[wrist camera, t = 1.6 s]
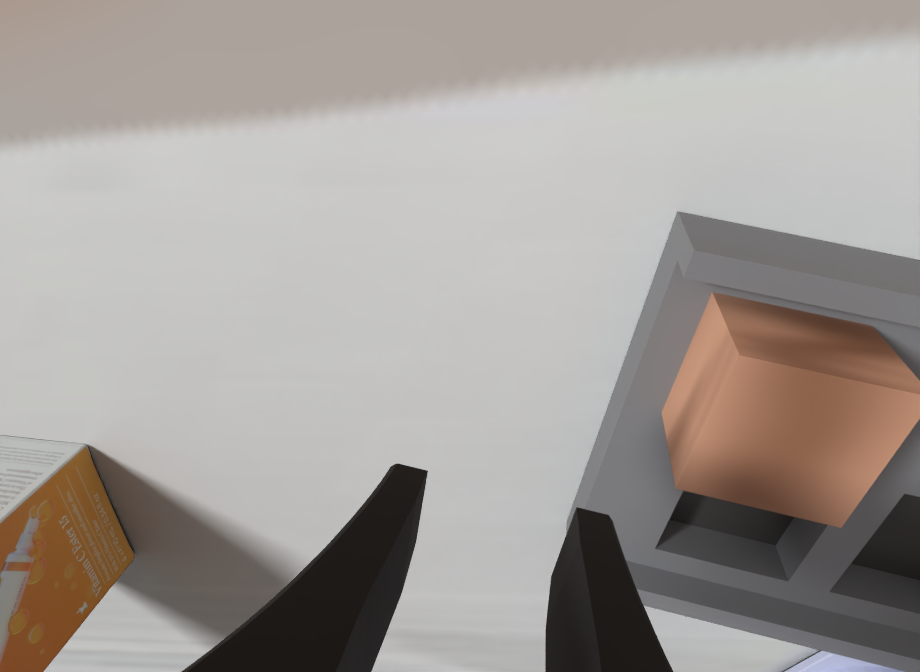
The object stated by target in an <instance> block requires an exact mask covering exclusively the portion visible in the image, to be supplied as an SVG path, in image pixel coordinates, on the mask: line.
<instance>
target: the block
mask: <svg viewBox="0 0 920 672" xmlns="http://www.w3.org/2000/svg"><path fill="white" fill-rule="evenodd" d="M662 418H663V423H664V428H665V434H666V439H667V445H668V450H669V455H670V461H671V466H672V471H673V477H674V482H675V488H676V489H679V490H684V491H688V492H692V493H696V494H700V495H705V496H709V497H713V498H717V499H721V500H726V501H730V502H734V503H738V504H742V505H747V506H751V507H755V508H759V509H763V510H768V511H772V512H776V513H780V514H784V515H789V516H793V517H797V518H801V519H805V520H810V521H814V522H818V523H822V524H827V525H831V526H835V527H839V528H842V526H843V525H844V523H845V522H846V521H847V519H848V518H849V516H850V515H851V514H852V512H853V511H854V509H855V508H856V507H857V505H858V504H859V502H860V501H861V500H862V498H863V497H864V496H865V494H866V493H867V491H868V490H869V489H870V487H871V486H872V484H873V483H874V482H875V480H876V479H877V477H878V476H879V475H880V473H881V472H882V470H883V469H884V468H885V466H886V465H887V464H888V462H889V461H890V459H891V458H892V457H893V455H894V454H895V452H896V451H897V450H898V448H899V447H900V445H901V444H902V443H903V441H904V440H905V438H906V437H907V436H908V434H909V433H910V431H911V430H912V429H913V427H914V426H915V425H916V423H917V422H918V420H919V419H920V380H919V379H918V378H917V377H916V376H915V375H914V373H913V372H912V371H911V370H910V369H909V368H908V367H907V365H906V364H905V363H904V362H903V361H902V360H901V358H900V357H899V356H898V355H897V354H896V353H895V352H894V350H893V349H892V348H891V347H890V346H889V345H888V343H887V342H886V341H885V340H884V339H883V338H882V337H881V335H880V334H879V333H878V332H877V331H876V330H875V328H874V327H873V326H871V325H866V324H862V323H857V322H852V321H847V320H843V319H838V318H833V317H828V316H824V315H819V314H814V313H810V312H805V311H800V310H795V309H791V308H786V307H781V306H776V305H772V304H767V303H762V302H757V301H753V300H748V299H743V298H739V297H734V296H729V295H724V294H720V293H715V292H712V294H711V296H710V298H709V301H708V303H707V305H706V308H705V310H704V313H703V315H702V317H701V320H700V322H699V325H698V327H697V329H696V332H695V334H694V336H693V339H692V341H691V344H690V346H689V348H688V351H687V353H686V355H685V358H684V360H683V363H682V365H681V367H680V370H679V372H678V375H677V377H676V379H675V382H674V384H673V386H672V389H671V391H670V394H669V396H668V398H667V401H666V403H665V406H664V408H663V410H662Z"/></svg>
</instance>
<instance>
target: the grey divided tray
mask: <svg viewBox="0 0 920 672" xmlns="http://www.w3.org/2000/svg"><path fill="white" fill-rule="evenodd" d="M712 292H715V293H720V294H724V295H729V296H734V297H739V298H743V299H748V300H753V301H757V302H762V303H767V304H772V305H776V306H781V307H786V308H791V309H795V310H800V311H805V312H810V313H814V314H819V315H824V316H828V317H833V318H838V319H843V320H847V321H852V322H857V323H862V324H866V325H871V326H873V327H874V328H875V330H876V331H877V332H878V333H879V334H880V335H881V337H882V338H883V339H884V340H885V341H886V342H887V343H888V345H889V346H890V347H891V348H892V349H893V350H894V352H895V353H896V354H897V355H898V356H899V357H900V358H901V360H902V361H903V362H904V363H905V364H906V365H907V367H908V368H909V369H910V370H911V371H912V372H913V373H914V375H915V376H916V377H917V378H918V379H919V380H920V260H916V259H911V258H906V257H901V256H896V255H891V254H886V253H881V252H876V251H871V250H866V249H861V248H856V247H851V246H846V245H841V244H836V243H831V242H826V241H822V240H817V239H812V238H807V237H802V236H797V235H792V234H787V233H782V232H777V231H772V230H767V229H762V228H757V227H752V226H747V225H742V224H737V223H732V222H727V221H722V220H717V219H712V218H708V217H703V216H698V215H693V214H688V213H683V212H677V214H676V217H675V220H674V223H673V226H672V228H671V231H670V234H669V237H668V240H667V242H666V245H665V248H664V251H663V254H662V257H661V259H660V262H659V265H658V268H657V271H656V273H655V276H654V279H653V282H652V285H651V287H650V290H649V293H648V296H647V299H646V301H645V304H644V307H643V310H642V313H641V315H640V318H639V321H638V324H637V327H636V329H635V332H634V335H633V338H632V341H631V343H630V346H629V349H628V352H627V355H626V357H625V360H624V363H623V366H622V369H621V371H620V374H619V377H618V380H617V383H616V386H615V388H614V391H613V394H612V397H611V400H610V402H609V405H608V408H607V411H606V414H605V416H604V419H603V422H602V425H601V428H600V430H599V433H598V436H597V439H596V442H595V444H594V447H593V450H592V453H591V456H590V458H589V461H588V464H587V467H586V470H585V472H584V475H583V478H582V481H581V484H580V486H579V489H578V492H577V495H576V498H575V500H574V503H573V506H572V509H571V512H570V515H569V517H568V520H567V532H568V529H569V526H570V524H571V521H572V518H573V515H574V513H575V510H576V507H578V508H582V509H586V510H590V511H595V512H599V513H603V514H607V515H609V516H610V518H611V519H612V521H613V524H614V527H615V530H616V533H617V536H618V539H619V542H620V545H621V548H622V551H623V554H624V557H625V560H626V562H627V565H628V568H629V570H630V573H631V576H632V578H633V581H634V584H635V586H636V589H637V591H638V594H639V596H640V599H641V601H642V603H643V605H644V606H648V607H652V608H656V609H660V610H664V611H668V612H672V613H676V614H680V615H684V616H687V617H691V618H695V619H699V620H703V621H707V622H711V623H715V624H719V625H723V626H727V627H731V628H735V629H739V630H743V631H747V632H750V633H754V634H758V635H762V636H766V637H770V638H774V639H778V640H782V641H786V642H790V643H794V644H798V645H802V646H806V647H809V648H813V649H817V650H821V651H825V652H829V653H833V654H837V655H841V656H845V657H849V658H853V659H857V660H861V661H865V662H869V663H872V664H876V665H880V666H884V667H888V668H892V669H896V670H900V671H904V672H920V419H919V420H918V422H917V423H916V425H915V426H914V427H913V429H912V430H911V431H910V433H909V434H908V436H907V437H906V438H905V440H904V441H903V443H902V444H901V445H900V447H899V448H898V450H897V451H896V452H895V454H894V455H893V457H892V458H891V459H890V461H889V462H888V464H887V465H886V466H885V468H884V469H883V470H882V472H881V473H880V475H879V476H878V477H877V479H876V480H875V482H874V483H873V484H872V486H871V487H870V489H869V490H868V491H867V493H866V494H865V496H864V497H863V498H862V500H861V501H860V502H859V504H858V505H857V507H856V508H855V509H854V511H853V512H852V514H851V515H850V516H849V518H848V519H847V521H846V522H845V523H844V525H843V526H842V528H839V527H835V526H831V525H827V524H822V523H818V522H814V521H810V520H805V519H801V518H797V517H793V516H789V515H784V514H780V513H776V512H772V511H768V510H763V509H759V508H755V507H751V506H747V505H742V504H738V503H734V502H730V501H726V500H721V499H717V498H713V497H709V496H705V495H700V494H696V493H692V492H688V491H684V490H679V489H676V488H675V482H674V477H673V471H672V466H671V461H670V455H669V450H668V445H667V439H666V434H665V428H664V423H663V418H662V410H663V408H664V406H665V403H666V401H667V398H668V396H669V394H670V391H671V389H672V386H673V384H674V382H675V379H676V377H677V375H678V372H679V370H680V367H681V365H682V363H683V360H684V358H685V355H686V353H687V351H688V348H689V346H690V344H691V341H692V339H693V336H694V334H695V332H696V329H697V327H698V325H699V322H700V320H701V317H702V315H703V313H704V310H705V308H706V305H707V303H708V301H709V298H710V296H711V294H712Z"/></svg>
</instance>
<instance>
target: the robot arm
mask: <svg viewBox="0 0 920 672" xmlns="http://www.w3.org/2000/svg"><path fill="white" fill-rule="evenodd" d="M427 472H428V471H426V470H422V469H418V468H414V467H410V466H406V465H401V464H395V465H393V466H391V467H390V469H389V470H388V472H387V473H386V475H385V476H384V478H383V479H382V481H381V482H380V483H379V485H378V486H377V488H376V489H375V490H374V492H373V493H372V494H371V495H370V497H369V498H368V499H367V500H366V502H365V503H364V504H363V505H362V507H361V508H360V509H359V510H358V511H357V513H356V514H355V515H354V516H353V517H352V518H351V520H350V521H349V522H348V523H347V524H346V525H345V526H344V527H343V529H342V530H341V531H340V532H339V533H338V534H337V535H336V536H335V537H334V539H333V540H332V541H331V542H330V543H329V544H328V545H327V546H326V547H325V548H324V549H323V550H322V551H321V552H320V553H319V554H318V555H317V556H316V557H315V558H314V559H313V560H312V561H311V562H310V563H309V564H308V565H307V566H306V567H305V568H304V569H303V570H302V571H301V572H300V573H299V574H298V575H297V576H296V577H295V578H294V579H293V580H292V581H291V582H290V583H289V584H288V585H287V586H286V587H285V588H284V589H283V590H282V591H280V592H279V593H278V594H277V595H276V596H275V597H274V598H273V599H272V600H270V601H269V602H268V603H267V604H266V605H265V606H264V607H262V608H261V609H260V610H259V611H258V612H257V613H256V614H254V615H253V616H252V617H251V618H250V619H249V620H247V621H246V622H245V623H244V624H243V625H241V626H240V627H239V628H238V629H236V630H235V631H234V632H233V633H231V634H230V635H229V636H228V637H226V638H225V639H224V640H223V641H221V642H220V643H219V644H218V645H216V646H215V647H214V648H213V649H211V650H210V651H209V652H207V653H206V654H205V655H203V656H202V657H201V658H199V659H198V660H197V661H195V662H194V663H193V664H191V665H190V666H189V667H187V668H186V669H185V670H183V671H182V672H371V671H372V668H373V666H374V663H375V661H376V658H377V655H378V653H379V650H380V648H381V645H382V643H383V640H384V637H385V635H386V632H387V630H388V627H389V624H390V622H391V619H392V617H393V614H394V611H395V609H396V606H397V604H398V601H399V598H400V596H401V593H402V590H403V586H404V583H405V579H406V576H407V572H408V569H409V565H410V562H411V558H412V554H413V551H414V547H415V543H416V539H417V533H418V526H419V520H420V514H421V508H422V502H423V496H424V490H425V484H426V478H427ZM546 672H673V670H672V668H671V666H670V664H669V662H668V660H667V658H666V656H665V654H664V651H663V649H662V647H661V645H660V643H659V640H658V638H657V636H656V634H655V631H654V629H653V627H652V624H651V622H650V620H649V617H648V615H647V613H646V610H645V608H644V606H643V603H642V601H641V599H640V596H639V594H638V591H637V589H636V586H635V584H634V581H633V578H632V576H631V573H630V570H629V568H628V565H627V562H626V560H625V557H624V554H623V551H622V548H621V545H620V542H619V539H618V536H617V533H616V530H615V527H614V524H613V521H612V519H611V518H610V516H609V515H607V514H603V513H599V512H595V511H590V510H586V509H582V508H578V507H576V510H575V513H574V515H573V518H572V521H571V524H570V526H569V529H568V532H567V535H566V537H565V540H564V543H563V546H562V548H561V551H560V554H559V557H558V560H557V562H556V565H555V568H554V571H553V573H552V576H551V585H550V594H549V603H548V613H547V623H546ZM784 672H904V671H900V670H896V669H892V668H888V667H884V666H880V665H876V664H872V663H869V662H865V661H861V660H857V659H853V658H849V657H845V656H841V655H837V654H833V653H829V652H825V651H820V652H818V653H816V654H815V655H813V656H811V657H809V658H808V659H806V660H804V661H802V662H800V663H799V664H797V665H795V666H793V667H792V668H790V669H788V670H786V671H784Z"/></svg>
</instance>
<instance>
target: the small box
mask: <svg viewBox="0 0 920 672" xmlns="http://www.w3.org/2000/svg"><path fill="white" fill-rule="evenodd" d="M134 557H135V555H134V553H133V551H132V549H131V547H130V546H129V544H128V541H127V539H126V537H125V535H124V533H123V531H122V528H121V526H120V524H119V521H118V519H117V517H116V515H115V512H114V510H113V508H112V506H111V503H110V501H109V499H108V496H107V494H106V492H105V489H104V487H103V485H102V482H101V480H100V478H99V475H98V473H97V471H96V468H95V466H94V464H93V461H92V459H91V454H90V451H89V449H88V447H87V445H86V444H79V443H68V442H58V441H48V440H38V439H29V438H21V437H11V436H2V435H0V672H43V671H44V670H45V669H46V668H47V667H48V665H49V664H50V663H51V662H52V660H53V659H54V658H55V657H56V655H57V654H58V653H59V652H60V650H61V649H62V648H63V647H64V645H65V644H66V643H67V642H68V640H69V639H70V638H71V637H72V635H73V634H74V633H75V632H76V631H77V629H78V628H79V627H80V626H81V624H82V623H83V622H84V621H85V619H86V618H87V617H88V615H89V614H90V613H91V612H92V610H93V609H94V608H95V607H96V606H97V604H98V603H99V602H100V601H101V599H102V598H103V597H104V596H105V594H106V593H107V592H108V590H109V589H110V588H111V587H112V586H113V585H114V583H115V582H116V581H117V579H118V578H119V577H120V576H121V574H122V573H123V572H124V571H125V569H126V568H127V567H128V566H129V565H130V563H131V562H132V561H133V559H134Z"/></svg>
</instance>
